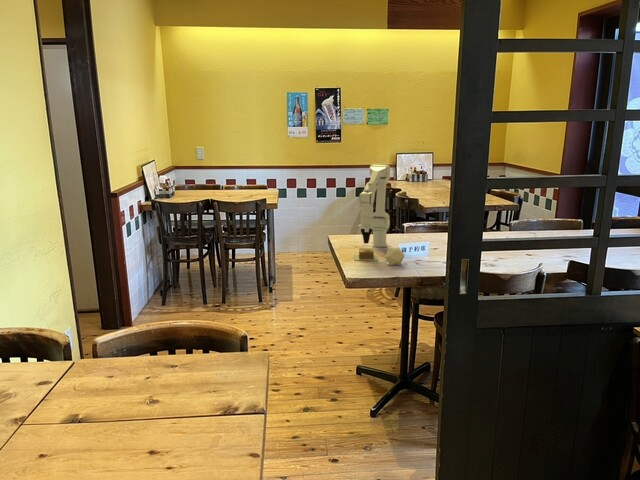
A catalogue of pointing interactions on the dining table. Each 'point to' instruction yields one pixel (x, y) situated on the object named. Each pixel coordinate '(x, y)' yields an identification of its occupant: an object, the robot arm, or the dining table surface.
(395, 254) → the die
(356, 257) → the mat
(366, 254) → the walnut block
